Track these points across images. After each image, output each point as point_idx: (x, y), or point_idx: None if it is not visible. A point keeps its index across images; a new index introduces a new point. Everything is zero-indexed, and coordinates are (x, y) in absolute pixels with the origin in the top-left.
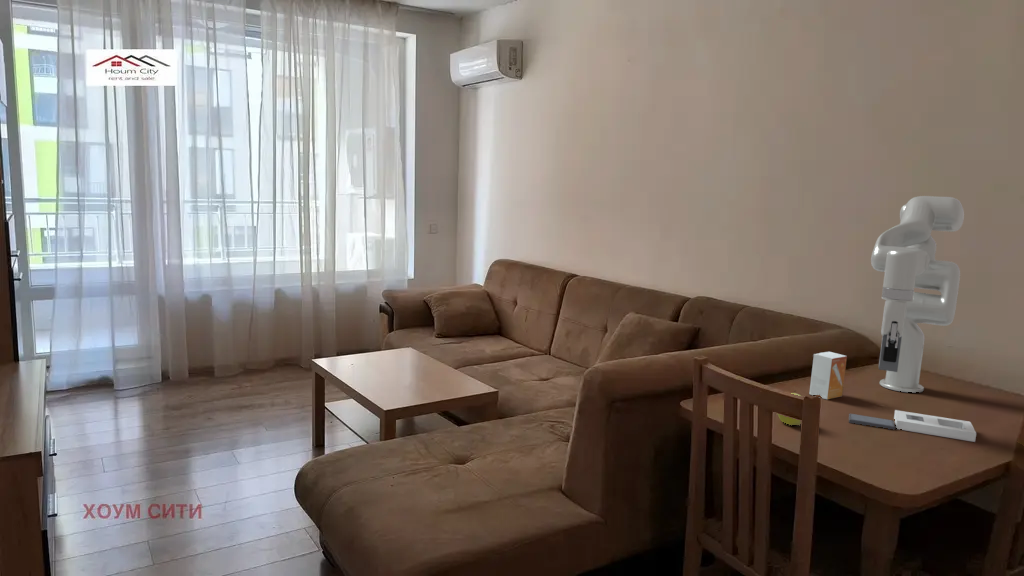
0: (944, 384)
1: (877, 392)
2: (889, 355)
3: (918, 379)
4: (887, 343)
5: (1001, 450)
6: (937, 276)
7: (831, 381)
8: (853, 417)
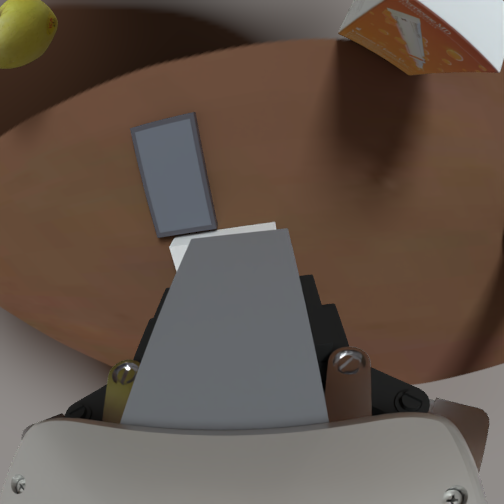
0: None
1: (490, 172)
2: None
3: None
4: (110, 391)
5: None
6: None
7: (369, 25)
8: (155, 132)
